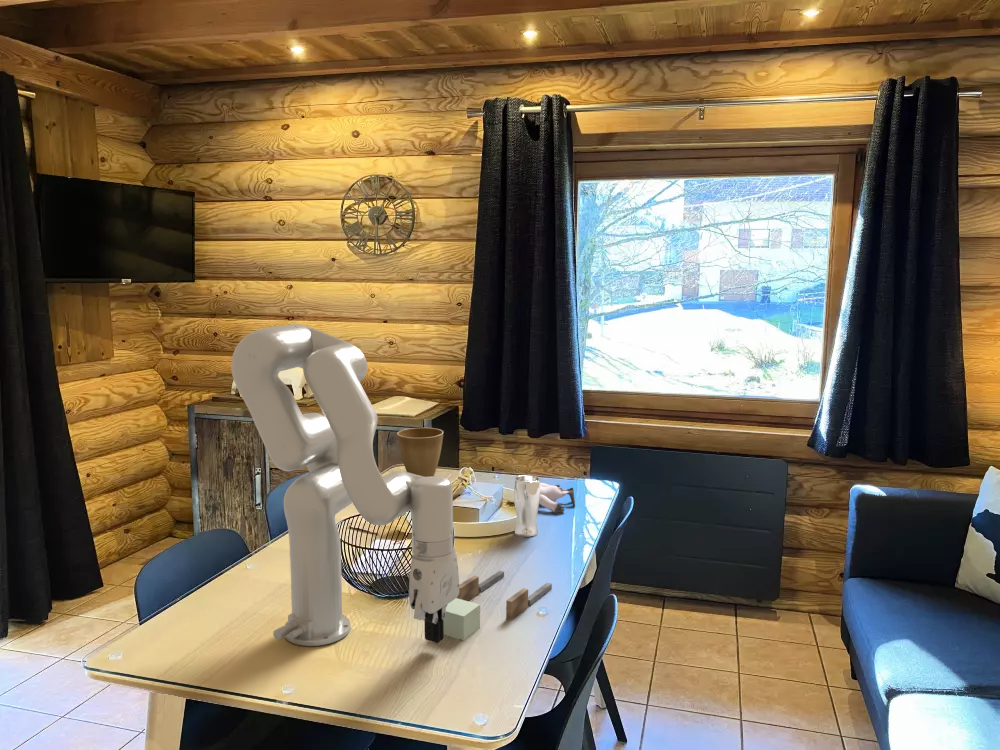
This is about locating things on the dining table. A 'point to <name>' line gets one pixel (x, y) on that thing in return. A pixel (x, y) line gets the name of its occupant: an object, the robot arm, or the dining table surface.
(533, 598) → the rails
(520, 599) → the walnut channel
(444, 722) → the dining table surface
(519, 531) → the beer glass
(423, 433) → the plant pot
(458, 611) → the sage block
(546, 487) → the yeti figurine
